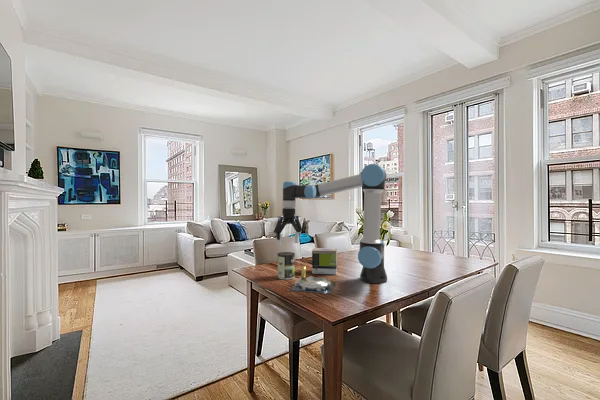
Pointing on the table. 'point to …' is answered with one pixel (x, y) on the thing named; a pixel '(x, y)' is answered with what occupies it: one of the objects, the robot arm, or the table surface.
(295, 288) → the base plate
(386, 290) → the table surface
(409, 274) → the table surface
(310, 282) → the sprocket
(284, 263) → the coffee can
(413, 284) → the table surface
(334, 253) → the tea box
